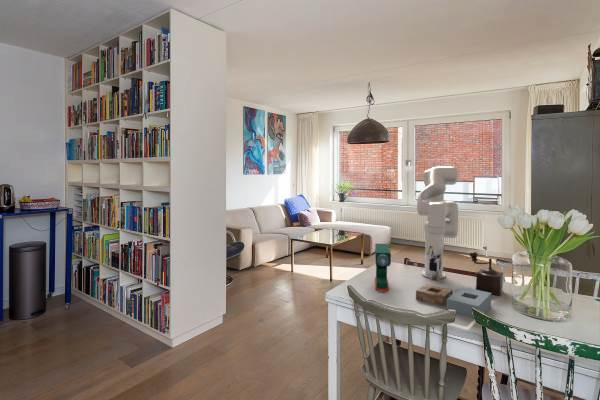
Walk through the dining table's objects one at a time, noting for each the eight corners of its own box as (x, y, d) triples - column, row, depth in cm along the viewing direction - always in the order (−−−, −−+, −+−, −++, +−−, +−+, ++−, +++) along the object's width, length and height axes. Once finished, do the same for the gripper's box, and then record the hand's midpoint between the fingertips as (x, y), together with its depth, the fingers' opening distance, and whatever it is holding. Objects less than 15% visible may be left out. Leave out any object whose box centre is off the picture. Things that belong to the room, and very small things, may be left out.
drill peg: (432, 277, 159) (432, 256, 159) (440, 279, 157) (440, 257, 156) (429, 279, 157) (429, 258, 156) (437, 281, 154) (437, 259, 153)
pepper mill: (503, 290, 170) (505, 254, 169) (499, 297, 162) (501, 259, 160) (469, 284, 180) (470, 250, 178) (463, 290, 171) (465, 254, 170)
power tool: (391, 301, 157) (392, 258, 156) (375, 300, 159) (376, 257, 157) (388, 279, 188) (388, 243, 187) (374, 278, 190) (375, 243, 188)
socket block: (426, 294, 166) (426, 284, 165) (452, 300, 158) (452, 289, 157) (415, 301, 157) (416, 290, 157) (442, 308, 149) (442, 296, 148)
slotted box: (462, 299, 159) (462, 286, 158) (490, 306, 151) (491, 292, 150) (446, 312, 144) (446, 298, 143) (477, 321, 136) (478, 306, 135)
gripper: (434, 226, 163) (433, 264, 165) (420, 231, 151) (419, 272, 153) (451, 228, 158) (449, 267, 160) (437, 233, 146) (436, 275, 148)
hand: (434, 269), depth 156 cm, fingers closed on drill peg, 3 cm apart
